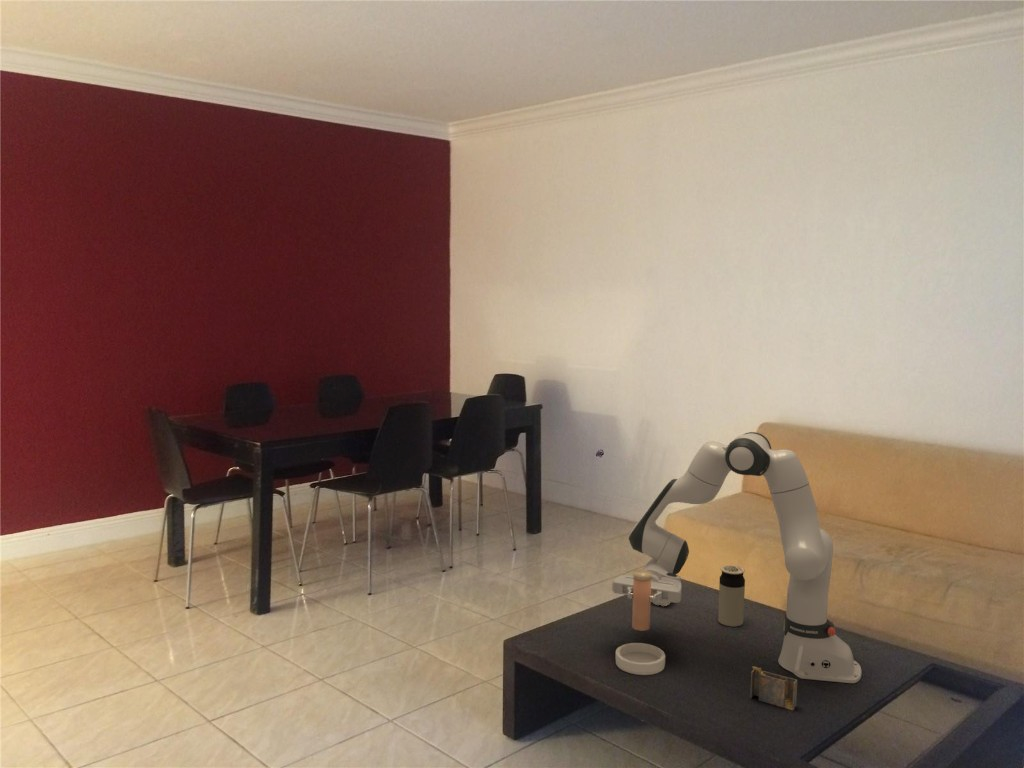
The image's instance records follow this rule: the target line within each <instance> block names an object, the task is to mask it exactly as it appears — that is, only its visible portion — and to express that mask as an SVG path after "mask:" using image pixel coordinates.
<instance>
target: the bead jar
mask: <svg viewBox="0 0 1024 768" xmlns="http://www.w3.org/2000/svg"><path fill="white" fill-rule="evenodd" d="M632 576H633V577H634V581H633V599H632V618H631V619H632V620H631V625H632V626H631V627H632V629H634V630H635V631H642V632H643V631H645V632H646V631H648V630H650V628H651V602H650V596H651V578H652V573H651V572H650V571H647V570H643V569H635V570H634V571H633V575H632Z"/></svg>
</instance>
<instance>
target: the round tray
mask: <svg viewBox="0 0 1024 768" xmlns="http://www.w3.org/2000/svg"><path fill="white" fill-rule="evenodd" d="M615 665H616V667H617V668H619V669H620V670H621V671H623V672H626V673H628V674H630V675H631V674H632V675H637V676H652V675H655V674H658V673H661V672H662V671H663V670H665V667H666V666H665V665H666V654H665V652H664V650H662V649H661V648H659V647H658V646H655V645H653V644H649V643H643V642H630V643H629V642H628V643H625V644H621V646H618V647H617V648H616V650H615Z"/></svg>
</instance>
